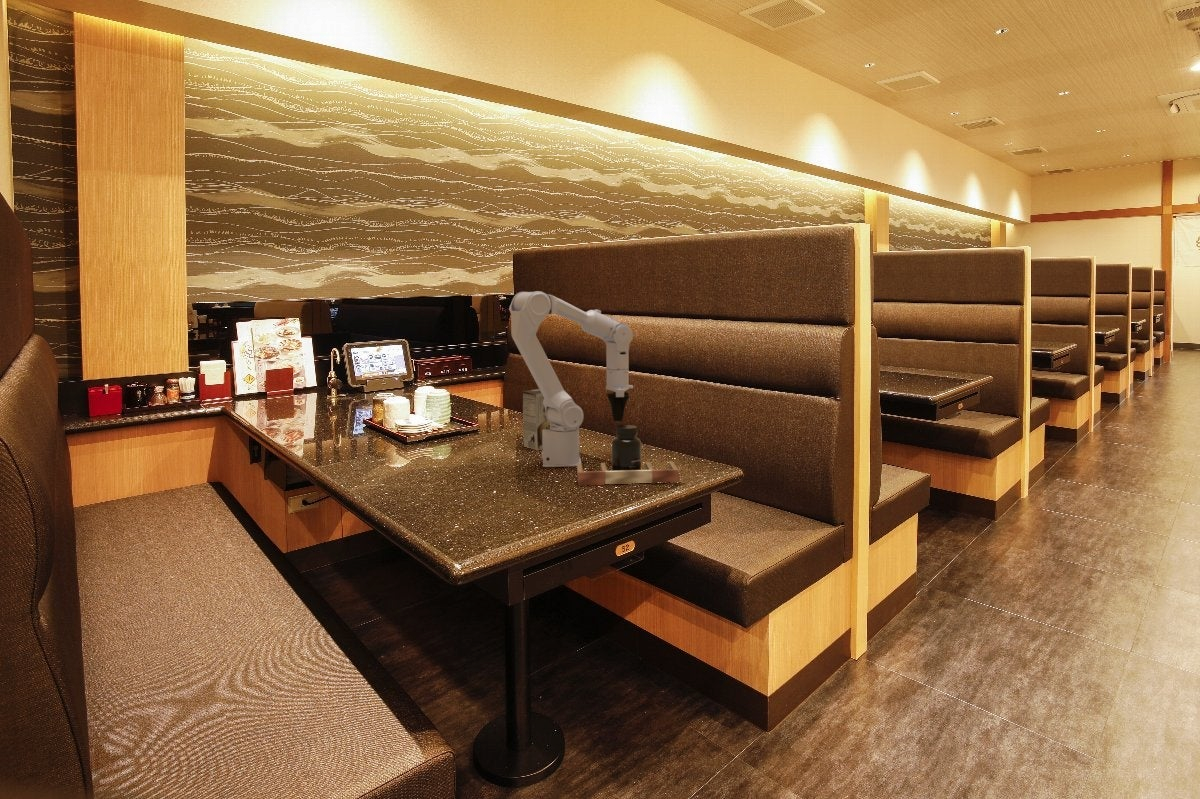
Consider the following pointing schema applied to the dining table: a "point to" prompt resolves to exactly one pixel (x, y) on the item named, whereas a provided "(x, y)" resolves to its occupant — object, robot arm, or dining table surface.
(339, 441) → the dining table surface
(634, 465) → the supplement bottle
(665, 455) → the dining table surface
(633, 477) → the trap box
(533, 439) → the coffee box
